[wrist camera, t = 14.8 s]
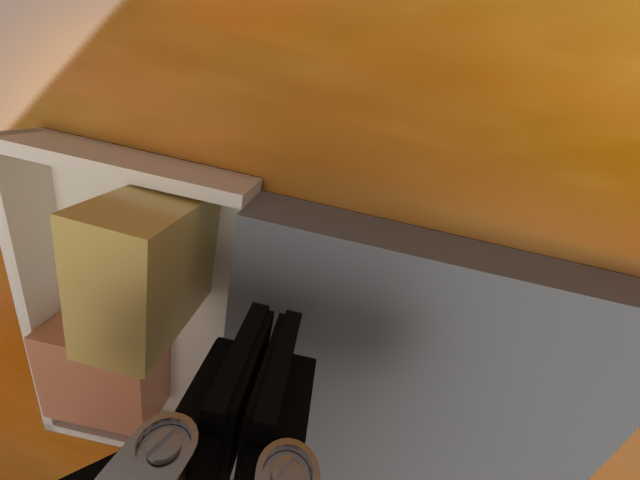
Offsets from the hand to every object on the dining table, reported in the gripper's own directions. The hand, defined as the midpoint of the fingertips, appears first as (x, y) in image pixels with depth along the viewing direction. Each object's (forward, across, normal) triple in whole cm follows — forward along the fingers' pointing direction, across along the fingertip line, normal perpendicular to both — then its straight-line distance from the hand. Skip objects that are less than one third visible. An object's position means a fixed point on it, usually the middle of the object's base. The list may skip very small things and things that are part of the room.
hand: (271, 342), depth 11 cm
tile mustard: (+1, +4, -1) cm, 4 cm away
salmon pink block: (+1, +8, +6) cm, 10 cm away
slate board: (+4, -6, +3) cm, 8 cm away
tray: (+4, +6, +3) cm, 8 cm away
